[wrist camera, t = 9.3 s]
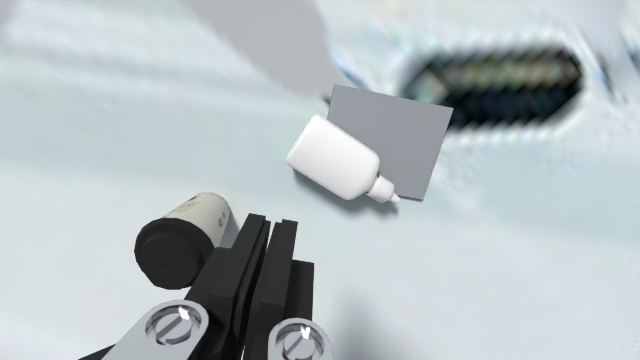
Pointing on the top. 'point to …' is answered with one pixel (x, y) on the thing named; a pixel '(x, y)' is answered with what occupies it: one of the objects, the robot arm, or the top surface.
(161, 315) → the robot arm
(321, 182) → the eye dropper bottle
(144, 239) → the coffee cup
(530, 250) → the top surface
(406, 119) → the mat
